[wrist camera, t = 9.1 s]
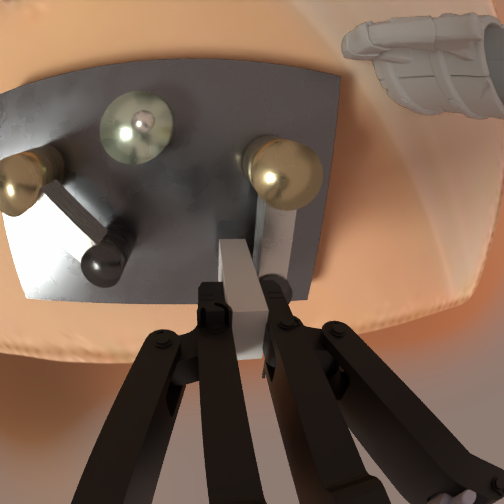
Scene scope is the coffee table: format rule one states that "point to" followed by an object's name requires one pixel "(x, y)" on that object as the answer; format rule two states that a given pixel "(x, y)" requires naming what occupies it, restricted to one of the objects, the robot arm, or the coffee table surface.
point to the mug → (436, 62)
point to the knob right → (279, 200)
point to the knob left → (63, 214)
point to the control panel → (165, 168)
